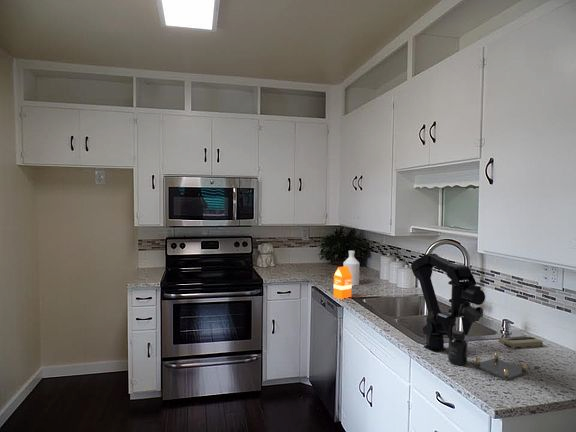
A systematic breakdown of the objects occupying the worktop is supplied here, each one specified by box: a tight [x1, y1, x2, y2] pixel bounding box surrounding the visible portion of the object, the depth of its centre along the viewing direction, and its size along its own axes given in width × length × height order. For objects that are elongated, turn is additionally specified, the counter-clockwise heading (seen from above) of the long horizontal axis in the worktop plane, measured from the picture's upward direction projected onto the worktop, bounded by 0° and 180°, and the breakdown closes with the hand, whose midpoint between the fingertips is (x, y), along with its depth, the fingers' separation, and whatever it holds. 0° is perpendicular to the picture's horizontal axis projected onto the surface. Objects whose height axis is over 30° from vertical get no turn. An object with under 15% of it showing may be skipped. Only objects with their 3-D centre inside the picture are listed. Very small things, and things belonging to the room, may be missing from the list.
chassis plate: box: [473, 352, 529, 382], centre depth 145 cm, size 13×13×3 cm
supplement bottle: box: [447, 330, 468, 366], centre depth 152 cm, size 7×7×12 cm
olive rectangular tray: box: [498, 336, 544, 350], centre depth 171 cm, size 16×8×3 cm, turn 101°
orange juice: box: [333, 266, 353, 300], centre depth 249 cm, size 8×9×20 cm
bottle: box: [342, 250, 361, 287], centre depth 286 cm, size 12×12×25 cm
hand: (458, 336), depth 152 cm, fingers open, 9 cm apart
